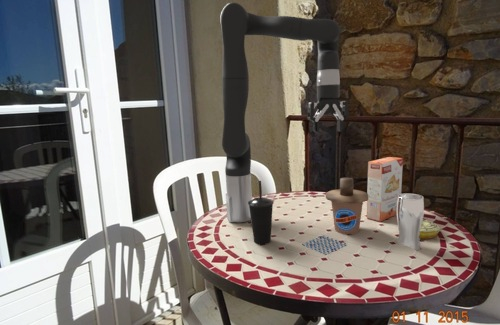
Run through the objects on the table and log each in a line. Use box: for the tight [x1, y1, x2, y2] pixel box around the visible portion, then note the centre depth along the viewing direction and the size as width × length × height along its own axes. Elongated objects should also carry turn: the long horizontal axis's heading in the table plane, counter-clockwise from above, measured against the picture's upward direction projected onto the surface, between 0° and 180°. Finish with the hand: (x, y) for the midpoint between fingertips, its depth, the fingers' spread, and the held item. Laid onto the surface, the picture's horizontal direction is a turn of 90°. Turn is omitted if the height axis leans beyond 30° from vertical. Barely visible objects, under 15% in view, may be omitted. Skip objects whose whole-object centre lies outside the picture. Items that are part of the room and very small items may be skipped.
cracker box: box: [366, 156, 404, 222], centre depth 121 cm, size 14×6×21 cm, turn 129°
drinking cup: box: [248, 180, 275, 245], centre depth 101 cm, size 8×8×20 cm
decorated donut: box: [419, 219, 441, 240], centre depth 106 cm, size 10×11×4 cm
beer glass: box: [396, 192, 425, 251], centre depth 96 cm, size 7×7×15 cm
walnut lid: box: [325, 177, 368, 204], centre depth 106 cm, size 13×13×6 cm
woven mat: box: [301, 235, 347, 256], centre depth 98 cm, size 10×11×2 cm
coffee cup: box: [330, 201, 364, 235], centre depth 108 cm, size 10×10×12 cm
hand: (327, 132), depth 117 cm, fingers open, 8 cm apart
